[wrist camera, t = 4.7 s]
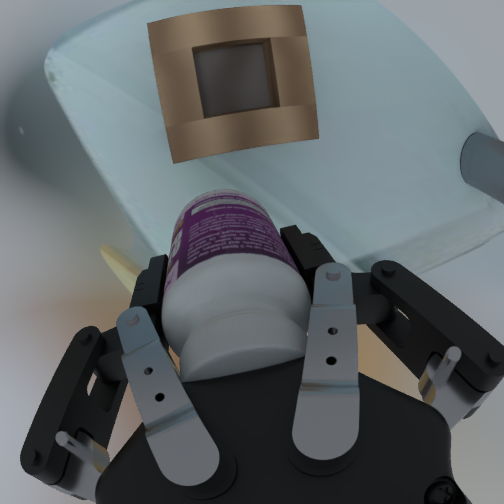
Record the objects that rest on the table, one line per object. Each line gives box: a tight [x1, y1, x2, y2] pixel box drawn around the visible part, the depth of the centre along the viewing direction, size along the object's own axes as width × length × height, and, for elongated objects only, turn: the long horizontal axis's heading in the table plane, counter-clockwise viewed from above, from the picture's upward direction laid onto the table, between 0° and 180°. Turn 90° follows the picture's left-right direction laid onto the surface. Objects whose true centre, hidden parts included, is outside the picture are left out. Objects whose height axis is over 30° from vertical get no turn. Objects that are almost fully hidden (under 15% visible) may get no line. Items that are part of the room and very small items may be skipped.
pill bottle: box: [162, 190, 312, 383], centre depth 11 cm, size 5×5×10 cm
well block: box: [147, 5, 319, 164], centre depth 24 cm, size 14×14×4 cm
